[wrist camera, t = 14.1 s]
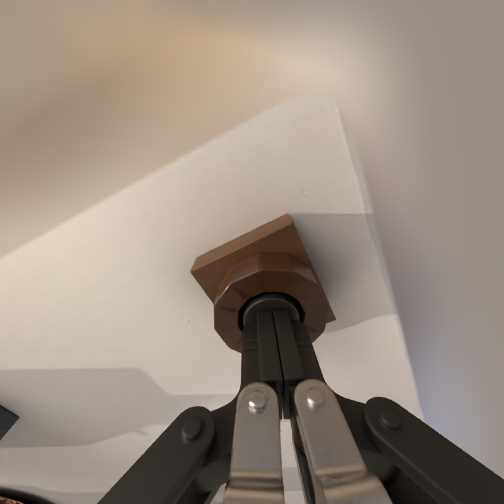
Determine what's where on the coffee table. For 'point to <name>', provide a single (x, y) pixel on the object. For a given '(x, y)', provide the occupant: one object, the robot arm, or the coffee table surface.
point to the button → (269, 305)
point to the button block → (261, 278)
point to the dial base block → (6, 421)
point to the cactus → (8, 501)
